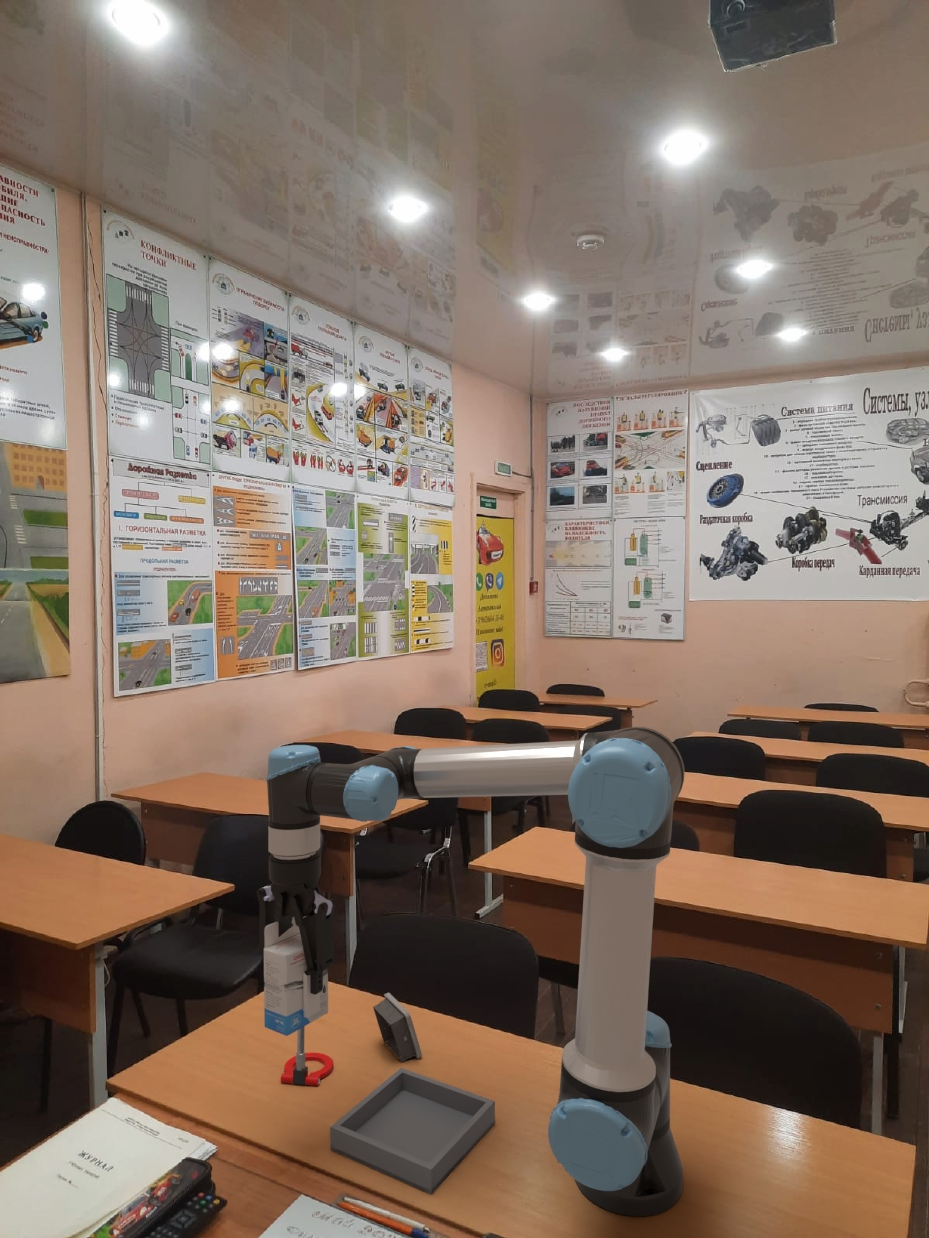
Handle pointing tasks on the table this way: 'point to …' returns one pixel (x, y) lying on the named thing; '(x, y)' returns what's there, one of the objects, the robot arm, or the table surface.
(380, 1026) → the electrical switch
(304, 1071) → the tow hook
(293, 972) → the ink box
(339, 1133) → the tray
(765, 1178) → the table surface
